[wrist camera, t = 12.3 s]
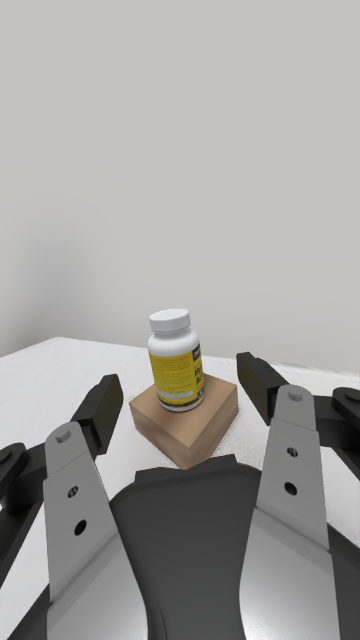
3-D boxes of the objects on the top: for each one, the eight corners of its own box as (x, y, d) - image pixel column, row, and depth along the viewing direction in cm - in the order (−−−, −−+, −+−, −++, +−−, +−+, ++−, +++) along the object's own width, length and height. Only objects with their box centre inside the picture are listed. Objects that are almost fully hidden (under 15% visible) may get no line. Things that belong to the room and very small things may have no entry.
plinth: (136, 429, 21) (128, 402, 20) (183, 386, 27) (179, 364, 26) (195, 481, 15) (189, 448, 14) (238, 412, 21) (236, 384, 20)
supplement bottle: (208, 411, 17) (197, 317, 14) (155, 416, 18) (134, 326, 15) (202, 377, 22) (193, 303, 20) (161, 382, 23) (146, 310, 20)
